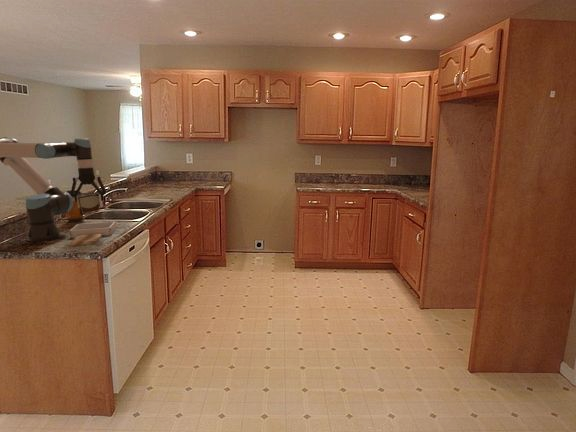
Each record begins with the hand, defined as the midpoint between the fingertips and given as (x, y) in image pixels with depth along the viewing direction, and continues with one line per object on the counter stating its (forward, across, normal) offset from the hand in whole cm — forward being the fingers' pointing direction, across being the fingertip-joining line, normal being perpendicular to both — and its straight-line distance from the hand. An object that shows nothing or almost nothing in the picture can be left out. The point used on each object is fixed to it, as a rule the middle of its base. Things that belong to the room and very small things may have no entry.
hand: (90, 207), depth 223 cm
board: (+15, 0, -17) cm, 23 cm away
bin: (+15, 0, 0) cm, 15 cm away
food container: (+3, -1, 0) cm, 3 cm away
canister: (+15, -18, +37) cm, 44 cm away
